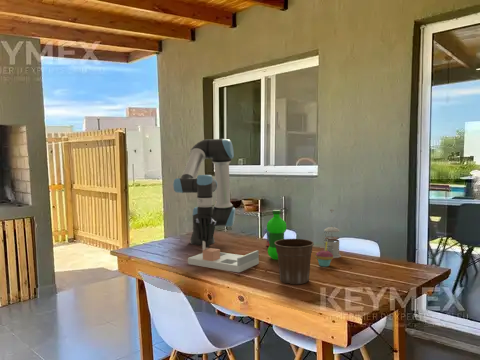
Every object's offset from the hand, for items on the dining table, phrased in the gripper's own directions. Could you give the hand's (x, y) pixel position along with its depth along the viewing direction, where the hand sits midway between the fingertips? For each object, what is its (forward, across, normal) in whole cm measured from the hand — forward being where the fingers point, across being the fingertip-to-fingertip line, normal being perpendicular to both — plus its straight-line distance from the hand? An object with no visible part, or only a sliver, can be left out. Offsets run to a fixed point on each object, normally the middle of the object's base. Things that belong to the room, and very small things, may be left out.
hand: (205, 253), depth 186 cm
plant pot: (+5, +48, -2) cm, 49 cm away
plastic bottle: (+5, +25, +28) cm, 38 cm away
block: (+2, +4, 0) cm, 4 cm away
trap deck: (+5, +7, +5) cm, 10 cm away
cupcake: (+5, +51, +27) cm, 58 cm away
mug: (+5, +11, +53) cm, 54 cm away
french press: (+5, +47, +48) cm, 67 cm away
